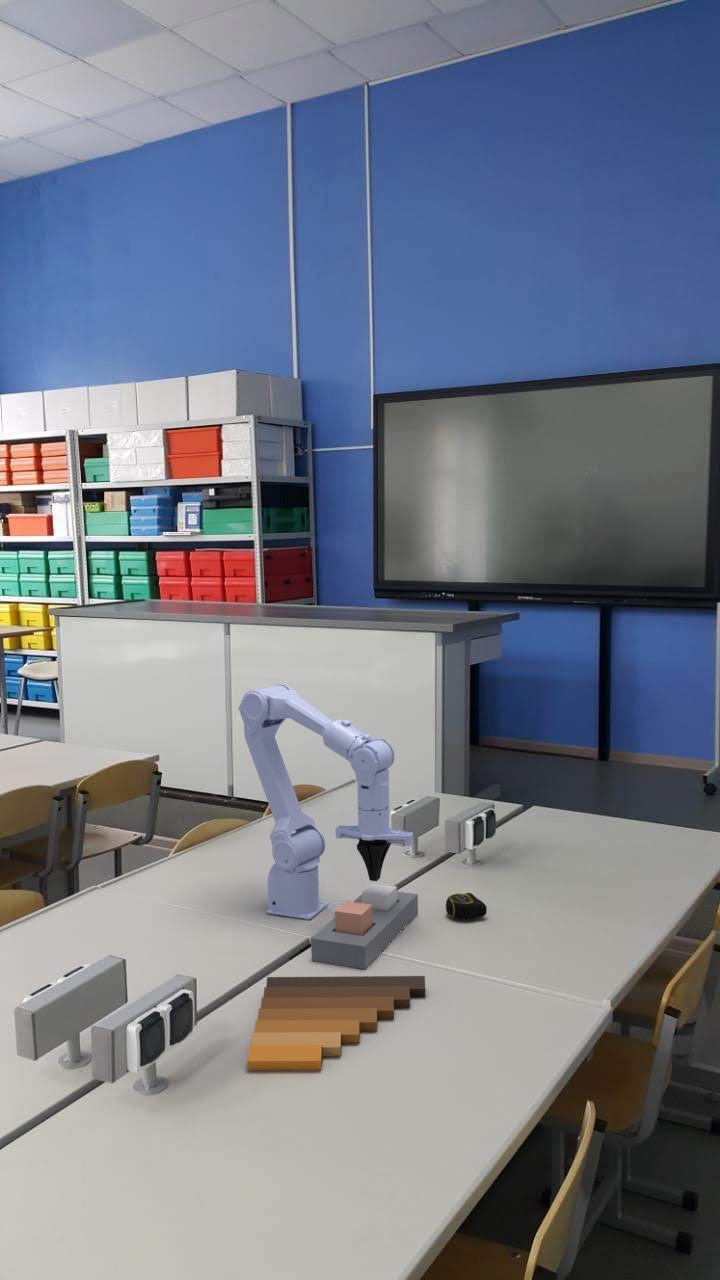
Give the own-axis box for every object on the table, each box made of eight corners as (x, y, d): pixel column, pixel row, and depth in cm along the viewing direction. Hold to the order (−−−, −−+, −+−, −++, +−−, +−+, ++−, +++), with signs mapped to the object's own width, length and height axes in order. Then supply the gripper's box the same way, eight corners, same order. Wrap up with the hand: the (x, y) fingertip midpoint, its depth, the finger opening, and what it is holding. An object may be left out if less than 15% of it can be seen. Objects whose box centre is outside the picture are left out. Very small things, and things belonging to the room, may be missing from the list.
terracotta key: (335, 936, 175) (334, 911, 174) (347, 925, 179) (346, 901, 179) (361, 940, 173) (361, 914, 172) (372, 929, 177) (372, 904, 177)
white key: (362, 916, 186) (361, 892, 185) (372, 906, 190) (372, 883, 190) (387, 919, 184) (387, 895, 183) (397, 910, 189) (396, 886, 188)
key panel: (311, 960, 172) (311, 938, 172) (369, 907, 196) (369, 887, 195) (365, 969, 168) (365, 946, 168) (418, 914, 192) (417, 894, 191)
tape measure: (488, 921, 188) (488, 902, 188) (454, 926, 186) (454, 906, 186) (473, 908, 195) (473, 889, 195) (440, 913, 193) (440, 894, 192)
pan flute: (424, 991, 161) (269, 992, 162) (424, 971, 161) (268, 972, 161) (431, 1074, 136) (248, 1075, 137) (431, 1051, 136) (247, 1052, 137)
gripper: (328, 809, 182) (329, 881, 183) (403, 816, 177) (404, 891, 178) (343, 799, 189) (345, 869, 190) (416, 805, 183) (417, 878, 184)
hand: (374, 879), depth 184 cm, fingers closed
